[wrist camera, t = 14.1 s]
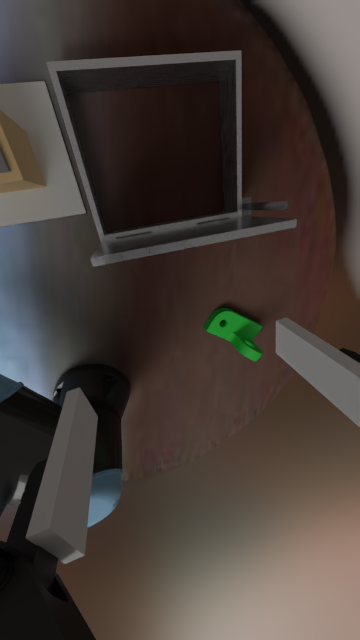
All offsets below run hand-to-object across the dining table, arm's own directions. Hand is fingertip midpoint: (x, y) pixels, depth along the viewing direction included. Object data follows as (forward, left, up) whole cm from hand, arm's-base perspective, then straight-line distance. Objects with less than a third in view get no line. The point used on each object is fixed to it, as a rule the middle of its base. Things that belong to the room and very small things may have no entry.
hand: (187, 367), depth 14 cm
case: (+5, +15, -28) cm, 32 cm away
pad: (-14, +17, -28) cm, 35 cm away
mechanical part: (+16, -16, -28) cm, 36 cm away
